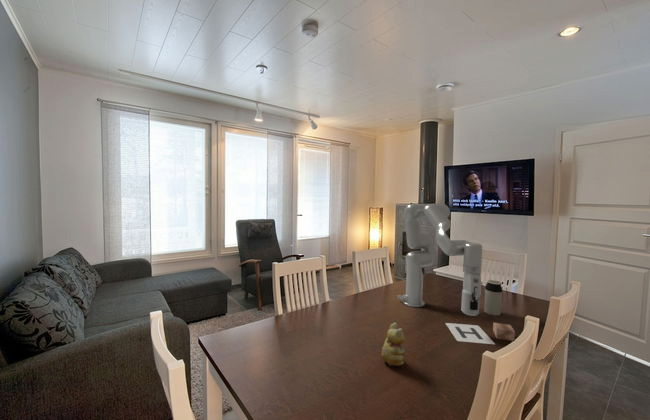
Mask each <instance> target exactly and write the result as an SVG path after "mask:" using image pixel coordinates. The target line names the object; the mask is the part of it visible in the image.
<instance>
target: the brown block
mask: <svg viewBox="0 0 650 420" xmlns="http://www.w3.org/2000/svg"><path fill="white" fill-rule="evenodd" d="M492 323H493V325H492V332H493V334H494V336H495V338H496V339H500V340H505V341H509V342H514V341H515V337H516V331H515V329H514V328H513V327H512V324H507V323H506V324H505V323H499V322H492ZM513 340H514V341H513Z"/></svg>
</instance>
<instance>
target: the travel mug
mask: <svg viewBox="0 0 650 420" xmlns="http://www.w3.org/2000/svg"><path fill="white" fill-rule="evenodd" d="M502 284H503V282H502V281H499V280H495V279H487V280H486V284H485V289H484V290H485V291H484V294H485V295H484V304H483V305H484V306H483V307H484V308H483V311H484V312H485V314H488V315H490V316H495V317H496V316H500V315H501V312H502V300H503V299H502V297H503V287H502Z"/></svg>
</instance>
